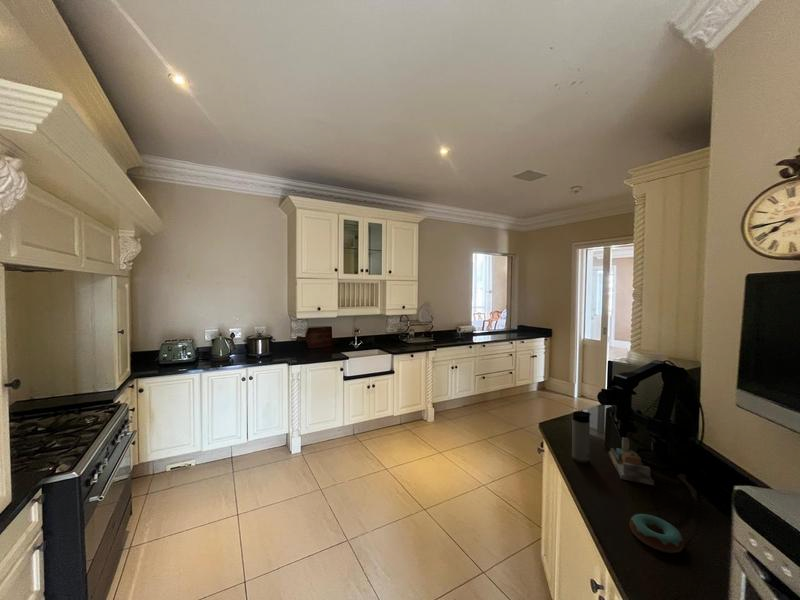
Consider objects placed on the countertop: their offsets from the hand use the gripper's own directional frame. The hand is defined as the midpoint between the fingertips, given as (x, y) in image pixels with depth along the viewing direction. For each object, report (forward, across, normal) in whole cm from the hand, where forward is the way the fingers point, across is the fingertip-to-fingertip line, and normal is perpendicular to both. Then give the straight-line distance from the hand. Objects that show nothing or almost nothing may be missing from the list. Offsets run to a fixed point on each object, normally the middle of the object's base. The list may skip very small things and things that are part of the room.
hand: (622, 440), depth 133 cm
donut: (+8, -51, +4) cm, 52 cm away
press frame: (+7, -10, 0) cm, 12 cm away
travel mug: (+7, -10, +17) cm, 21 cm away
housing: (+6, -12, 0) cm, 13 cm away
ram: (+5, -5, 0) cm, 8 cm away
